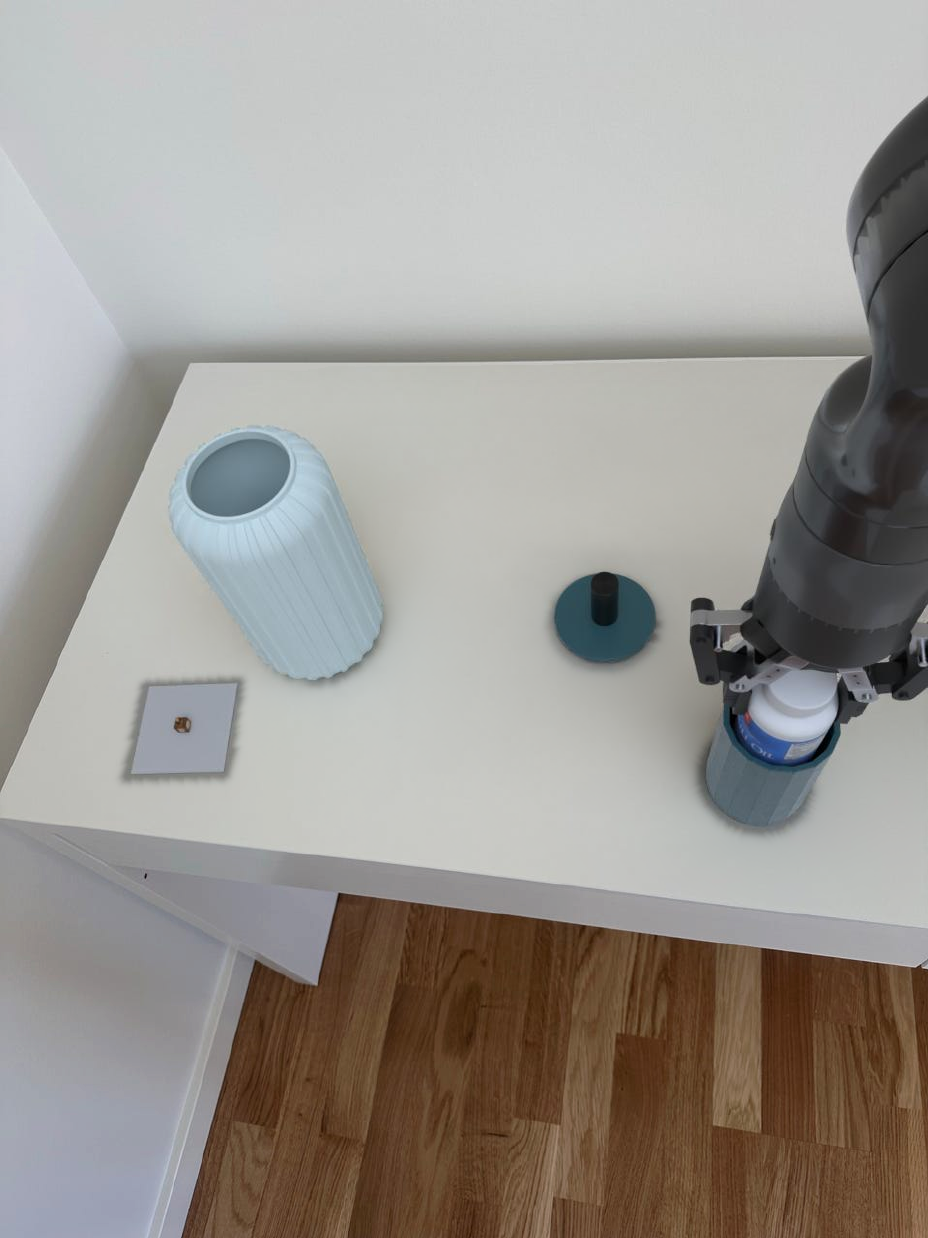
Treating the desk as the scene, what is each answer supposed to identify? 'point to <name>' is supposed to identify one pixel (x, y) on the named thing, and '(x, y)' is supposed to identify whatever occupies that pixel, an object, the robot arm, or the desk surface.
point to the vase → (278, 549)
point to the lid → (604, 617)
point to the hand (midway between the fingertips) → (788, 704)
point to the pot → (760, 777)
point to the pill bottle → (789, 717)
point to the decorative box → (185, 729)
